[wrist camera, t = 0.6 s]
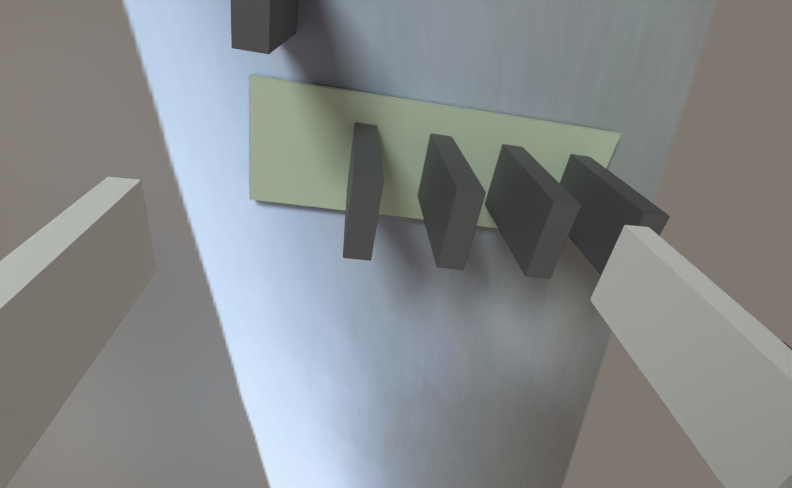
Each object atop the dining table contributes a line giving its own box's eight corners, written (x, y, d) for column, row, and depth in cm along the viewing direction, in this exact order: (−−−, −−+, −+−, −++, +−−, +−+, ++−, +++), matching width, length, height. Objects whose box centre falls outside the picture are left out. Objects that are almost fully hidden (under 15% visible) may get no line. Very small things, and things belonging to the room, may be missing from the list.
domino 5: (570, 153, 33) (644, 213, 25) (589, 156, 33) (669, 216, 25) (548, 212, 36) (608, 284, 27) (566, 214, 36) (631, 286, 27)
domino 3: (430, 133, 32) (457, 188, 23) (451, 136, 32) (486, 192, 23) (417, 195, 34) (437, 267, 25) (437, 198, 34) (463, 269, 26)
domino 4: (502, 143, 32) (554, 201, 24) (522, 146, 33) (581, 204, 24) (484, 204, 35) (525, 276, 26) (503, 206, 35) (550, 278, 26)
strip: (251, 74, 29) (249, 75, 29) (617, 132, 33) (621, 134, 33) (251, 196, 34) (249, 199, 33) (573, 234, 38) (576, 237, 37)
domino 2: (354, 122, 31) (353, 175, 22) (377, 125, 31) (384, 179, 22) (346, 187, 33) (342, 257, 25) (367, 189, 33) (370, 260, 25)
